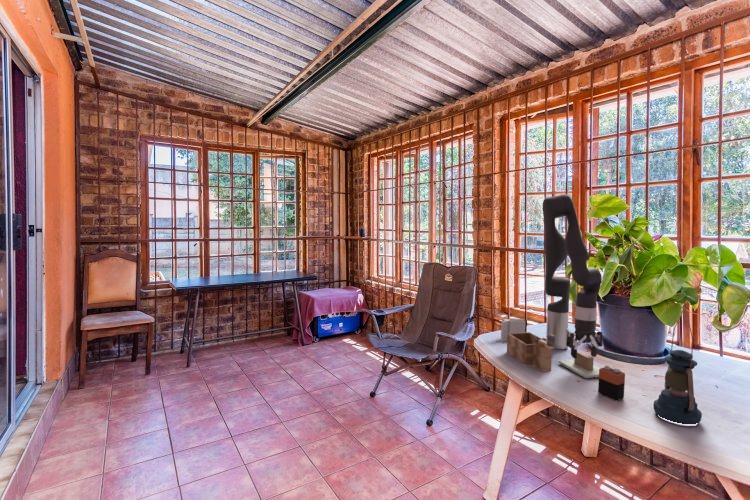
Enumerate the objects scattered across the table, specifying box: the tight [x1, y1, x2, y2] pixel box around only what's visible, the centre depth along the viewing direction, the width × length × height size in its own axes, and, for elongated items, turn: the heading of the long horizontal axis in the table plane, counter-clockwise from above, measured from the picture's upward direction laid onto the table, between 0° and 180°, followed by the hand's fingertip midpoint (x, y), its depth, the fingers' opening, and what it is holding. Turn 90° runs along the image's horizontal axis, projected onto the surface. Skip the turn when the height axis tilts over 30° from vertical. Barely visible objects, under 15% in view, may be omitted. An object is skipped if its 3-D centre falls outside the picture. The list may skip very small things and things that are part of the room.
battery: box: [597, 365, 626, 401], centre depth 136 cm, size 4×7×10 cm, turn 26°
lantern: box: [653, 306, 703, 424], centre depth 120 cm, size 14×12×35 cm
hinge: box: [500, 318, 528, 343], centre depth 198 cm, size 14×5×10 cm, turn 98°
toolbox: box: [506, 331, 553, 372], centre depth 169 cm, size 22×11×12 cm, turn 9°
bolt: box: [538, 334, 555, 350], centre depth 158 cm, size 8×3×5 cm, turn 9°
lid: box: [558, 350, 601, 379], centre depth 159 cm, size 16×11×7 cm
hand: (583, 357), depth 158 cm, fingers open, 8 cm apart
